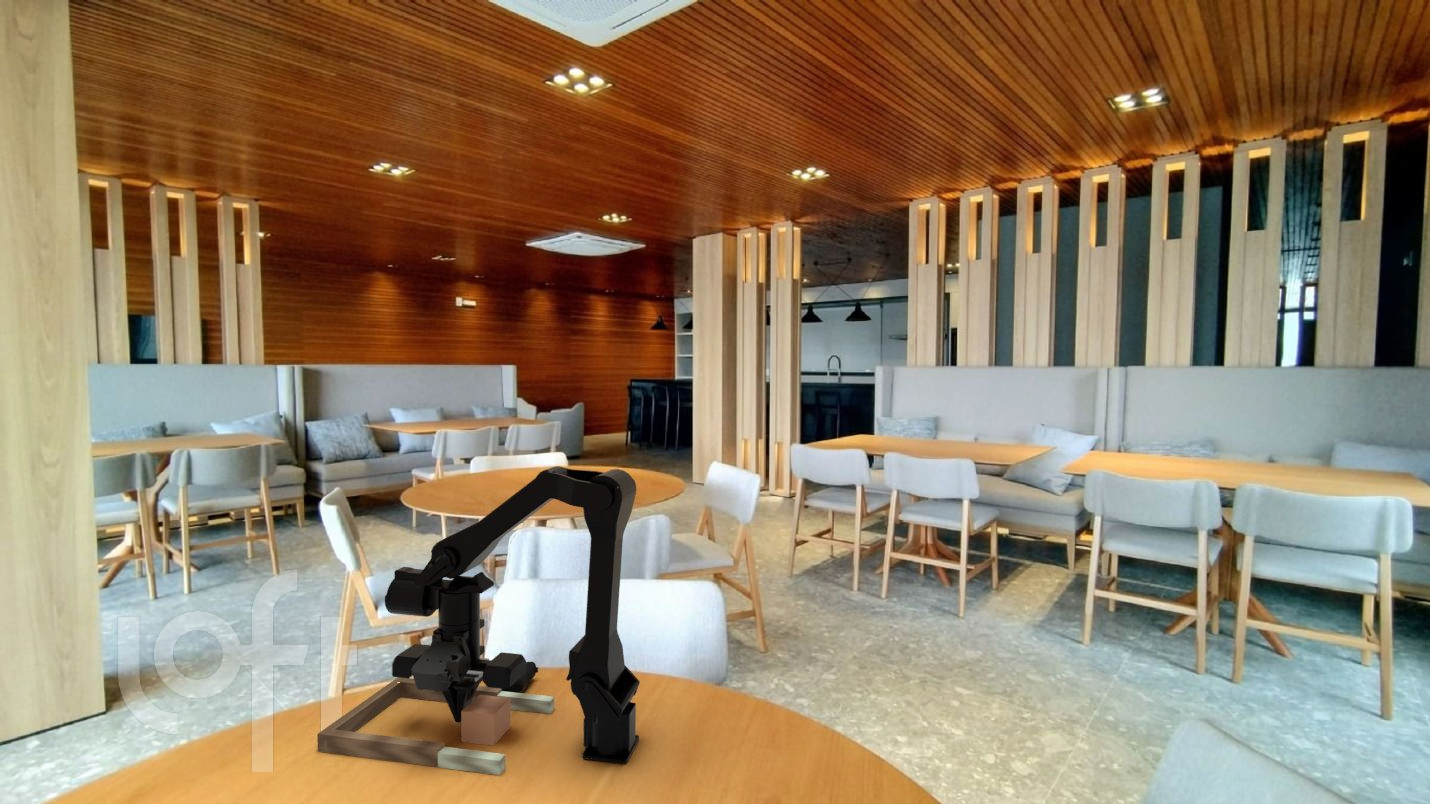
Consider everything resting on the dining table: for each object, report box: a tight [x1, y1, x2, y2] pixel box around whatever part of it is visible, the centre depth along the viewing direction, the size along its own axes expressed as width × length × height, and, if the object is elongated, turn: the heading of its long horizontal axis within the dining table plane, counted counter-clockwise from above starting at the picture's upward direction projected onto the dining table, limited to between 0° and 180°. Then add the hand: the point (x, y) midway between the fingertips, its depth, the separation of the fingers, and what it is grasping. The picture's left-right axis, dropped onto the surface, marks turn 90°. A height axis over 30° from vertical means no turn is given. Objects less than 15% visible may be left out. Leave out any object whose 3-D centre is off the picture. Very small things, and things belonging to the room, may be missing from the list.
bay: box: [316, 677, 555, 776], centre depth 99 cm, size 28×18×2 cm, turn 80°
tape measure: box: [502, 661, 539, 693], centre depth 112 cm, size 7×7×4 cm
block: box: [460, 695, 511, 747], centre depth 97 cm, size 5×5×4 cm
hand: (459, 721), depth 98 cm, fingers closed
